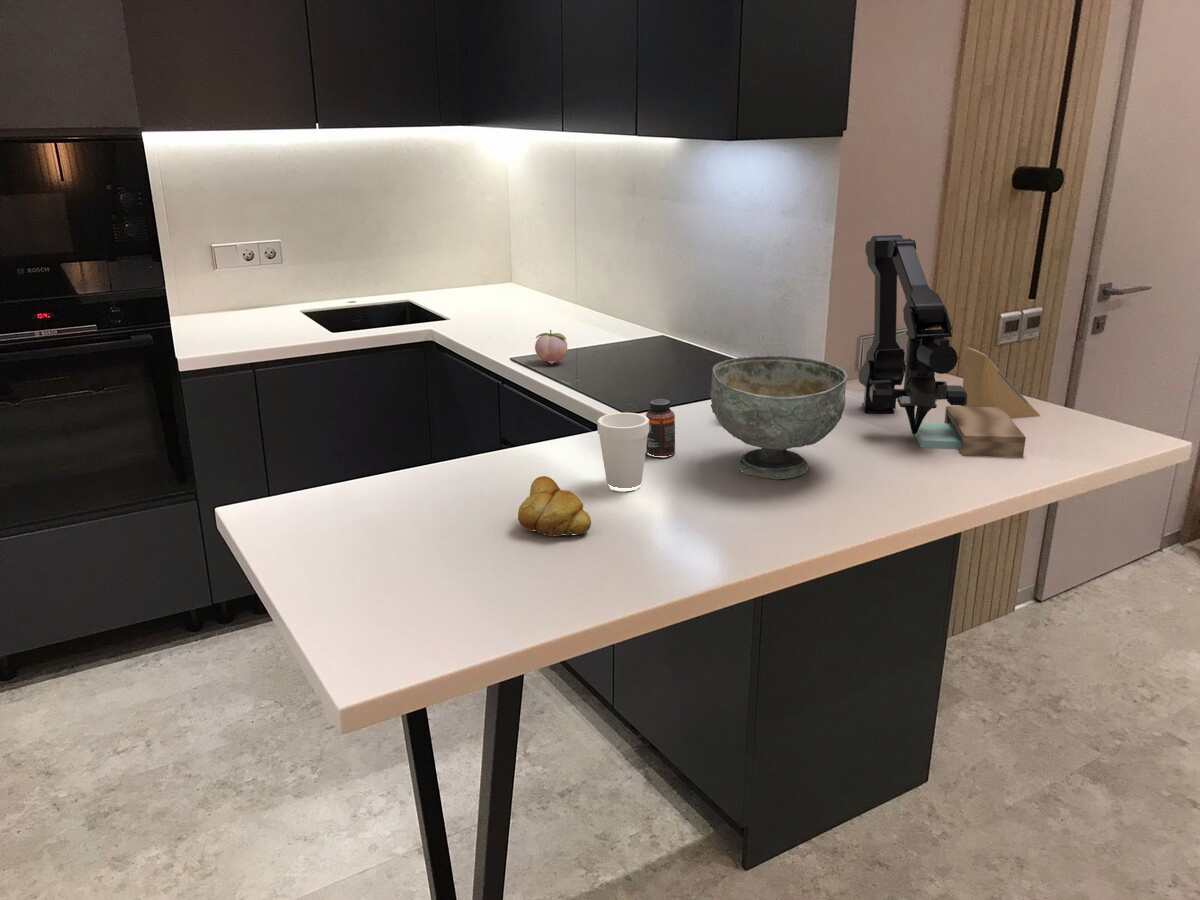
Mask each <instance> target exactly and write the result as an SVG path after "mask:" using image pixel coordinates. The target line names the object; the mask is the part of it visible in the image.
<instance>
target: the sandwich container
mask: <svg viewBox="0 0 1200 900" xmlns="http://www.w3.org/2000/svg"><path fill="white" fill-rule="evenodd" d="M962 388H963V389H964V390H965V391H966V393H967V405H964V406H962V405H960V406H962V407H1002V408H1003V410H1004V411H1005V412H1006V413H1007V415H1008V416H1009V417H1010V418H1011V419H1019V418H1020V419H1021V418H1035V417H1036V418H1037V417H1041V416H1042V415H1041V414H1040V413H1039V412H1038V411H1037V410H1036V409H1035V408H1034V407H1033V406H1032V404H1030V402H1029V401H1028V400H1027V399H1026V398H1025V397H1024V396H1023V395H1022V393H1021V392H1019V390H1018V389H1017V388H1016V387H1015V386H1014V385H1013V384H1012V383H1011V382H1010V381H1009V379H1007V377H1006V376H1005V375H1004V374H1003V373H1002V372H1001V370H1000V369H998V367H997V366H996V365H995V364H994V363H993V362H992V360H991V359H990V358H989V357H988V356H987V355H986V354H984V353H983V352H981V351H979V350H977V349H975V348H971V347H969V346H967V347H966V351H965V360H964V371H963V382H962Z"/></svg>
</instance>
